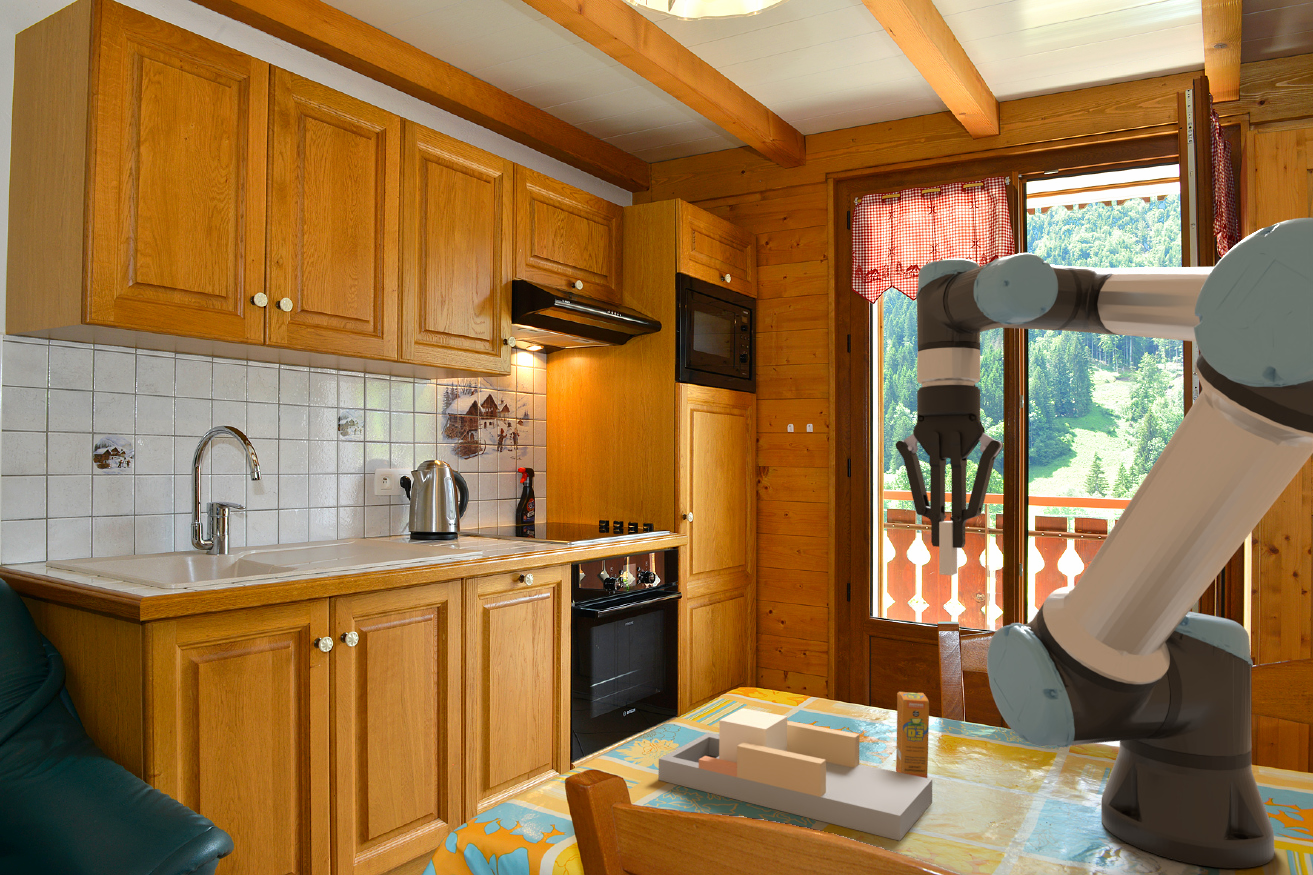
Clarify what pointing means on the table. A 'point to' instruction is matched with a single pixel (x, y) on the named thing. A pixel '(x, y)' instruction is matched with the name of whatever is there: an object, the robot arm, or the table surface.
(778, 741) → the block
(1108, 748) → the table surface
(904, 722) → the supplement box
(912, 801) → the tray
